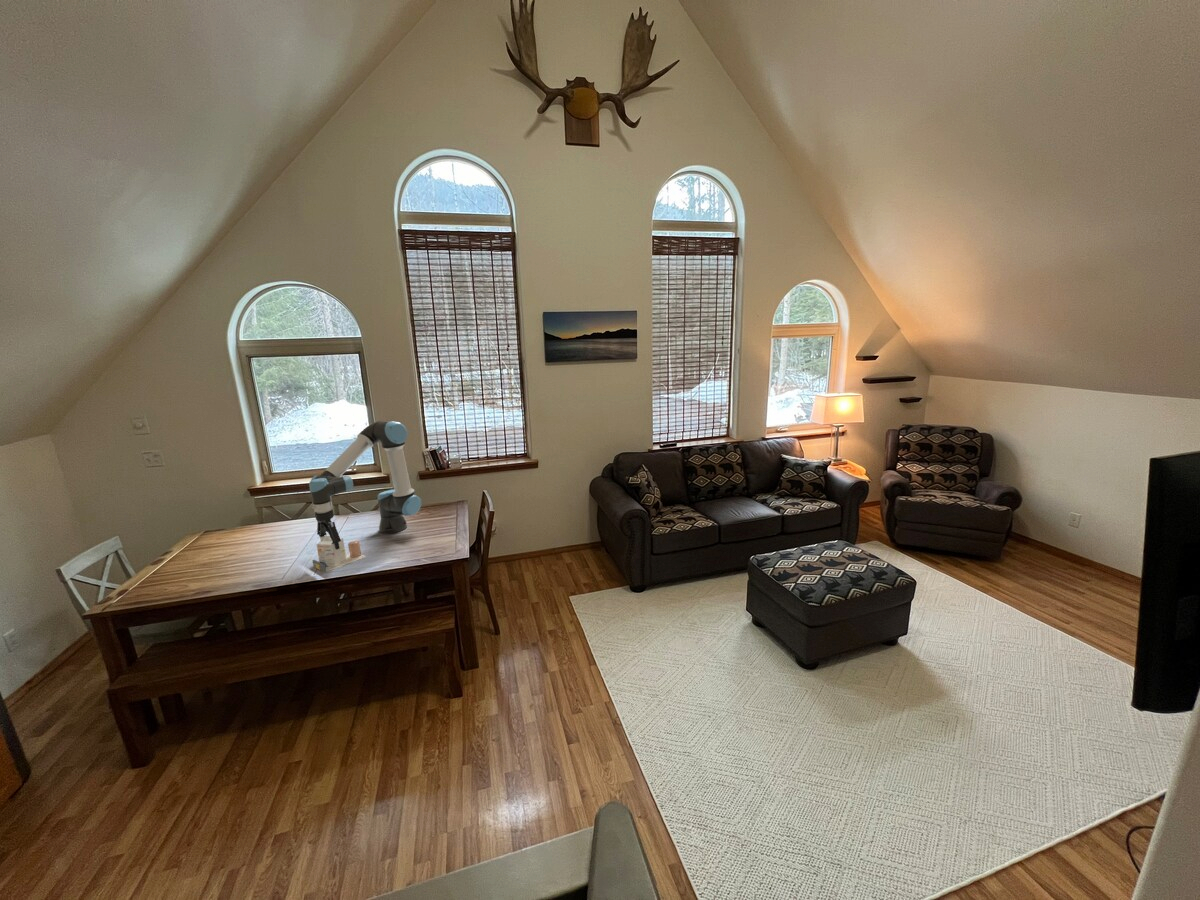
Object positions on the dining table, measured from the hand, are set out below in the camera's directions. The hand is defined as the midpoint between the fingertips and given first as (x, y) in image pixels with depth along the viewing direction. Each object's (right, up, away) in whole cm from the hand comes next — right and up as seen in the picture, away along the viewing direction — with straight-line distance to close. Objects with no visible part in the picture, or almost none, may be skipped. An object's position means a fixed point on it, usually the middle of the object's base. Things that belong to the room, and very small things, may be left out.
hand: (331, 551), depth 231 cm
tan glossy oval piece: (+7, -4, +8) cm, 12 cm away
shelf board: (+3, -7, +3) cm, 8 cm away
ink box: (0, -6, +1) cm, 6 cm away
